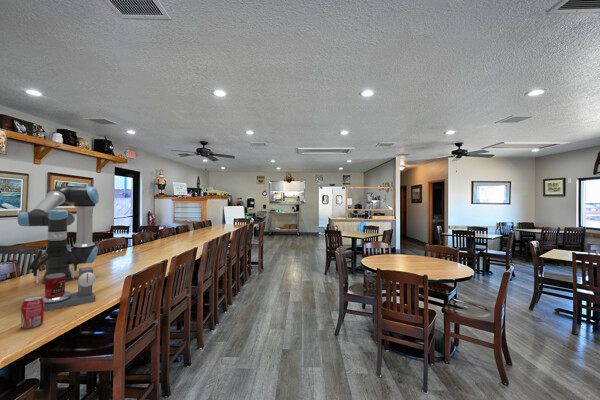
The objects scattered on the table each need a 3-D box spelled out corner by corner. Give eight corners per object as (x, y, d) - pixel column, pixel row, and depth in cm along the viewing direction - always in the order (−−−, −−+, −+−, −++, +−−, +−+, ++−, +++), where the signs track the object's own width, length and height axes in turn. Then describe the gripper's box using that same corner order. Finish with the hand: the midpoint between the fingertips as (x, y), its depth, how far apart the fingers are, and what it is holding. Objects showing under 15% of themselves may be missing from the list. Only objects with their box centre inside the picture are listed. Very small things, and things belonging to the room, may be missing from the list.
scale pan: (34, 299, 137) (34, 295, 137) (70, 292, 148) (70, 289, 148) (36, 306, 128) (36, 303, 128) (74, 299, 138) (74, 296, 138)
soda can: (30, 322, 119) (32, 295, 119) (47, 321, 120) (49, 295, 120) (15, 329, 112) (16, 301, 112) (33, 329, 113) (34, 301, 113)
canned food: (52, 299, 133) (53, 277, 134) (40, 297, 135) (41, 276, 135) (68, 294, 141) (69, 273, 141) (56, 292, 143) (57, 272, 143)
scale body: (31, 305, 137) (33, 272, 137) (90, 294, 155) (92, 265, 155) (33, 313, 127) (34, 278, 127) (95, 301, 145) (97, 270, 145)
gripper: (23, 242, 127) (21, 286, 127) (88, 238, 145) (87, 276, 145) (22, 240, 132) (20, 282, 132) (86, 236, 150) (84, 273, 150)
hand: (55, 279), depth 138 cm, fingers open, 13 cm apart
